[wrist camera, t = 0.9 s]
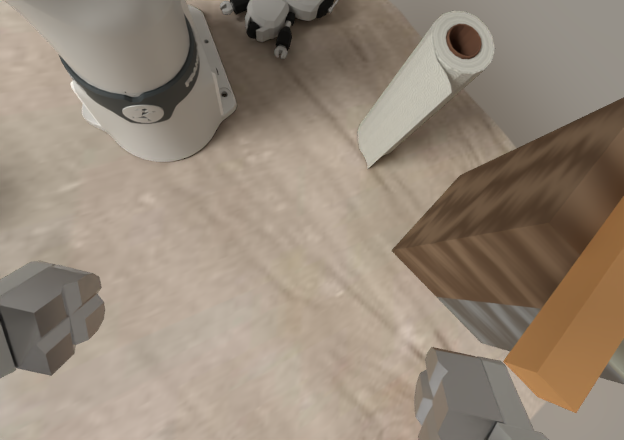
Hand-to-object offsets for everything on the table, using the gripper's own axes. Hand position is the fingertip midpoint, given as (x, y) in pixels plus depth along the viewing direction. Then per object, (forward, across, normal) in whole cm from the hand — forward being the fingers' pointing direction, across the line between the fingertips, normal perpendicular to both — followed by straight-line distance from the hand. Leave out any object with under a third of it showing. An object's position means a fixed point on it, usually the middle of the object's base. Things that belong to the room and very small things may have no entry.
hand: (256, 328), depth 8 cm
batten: (+18, -20, +2) cm, 27 cm away
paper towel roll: (+45, -4, +4) cm, 46 cm away
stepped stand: (+40, -20, +17) cm, 48 cm away
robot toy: (+52, +13, -11) cm, 54 cm away
